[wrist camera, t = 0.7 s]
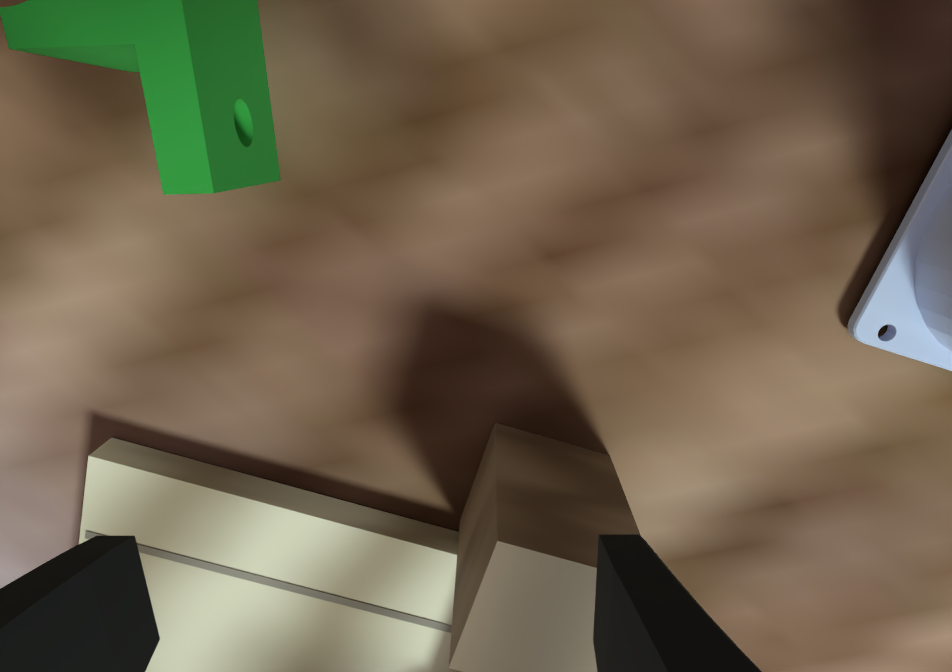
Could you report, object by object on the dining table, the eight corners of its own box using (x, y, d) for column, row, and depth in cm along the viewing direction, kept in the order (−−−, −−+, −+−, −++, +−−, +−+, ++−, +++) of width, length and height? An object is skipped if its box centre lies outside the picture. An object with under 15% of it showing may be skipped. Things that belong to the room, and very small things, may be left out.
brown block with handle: (609, 455, 20) (659, 585, 14) (498, 711, 23) (501, 896, 18) (494, 422, 19) (497, 540, 14) (400, 687, 23) (372, 867, 17)
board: (644, 582, 21) (653, 608, 20) (558, 755, 24) (562, 786, 23) (111, 437, 20) (87, 456, 18) (86, 638, 22) (64, 666, 21)
